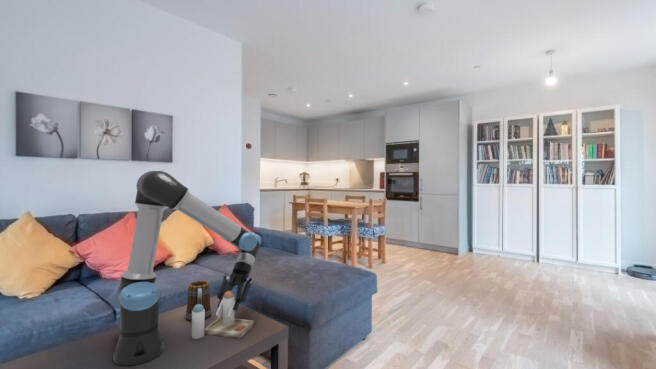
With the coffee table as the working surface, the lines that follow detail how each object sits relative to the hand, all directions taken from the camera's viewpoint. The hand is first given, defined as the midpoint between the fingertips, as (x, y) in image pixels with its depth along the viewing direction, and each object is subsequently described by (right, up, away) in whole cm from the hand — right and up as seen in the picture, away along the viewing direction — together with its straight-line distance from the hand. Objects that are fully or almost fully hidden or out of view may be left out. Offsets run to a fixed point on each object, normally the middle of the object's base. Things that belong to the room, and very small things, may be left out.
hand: (223, 317), depth 125 cm
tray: (+1, -6, +3) cm, 7 cm away
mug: (-15, -6, +12) cm, 20 cm away
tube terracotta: (+1, -3, +4) cm, 5 cm away
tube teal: (-9, -6, -3) cm, 11 cm away
